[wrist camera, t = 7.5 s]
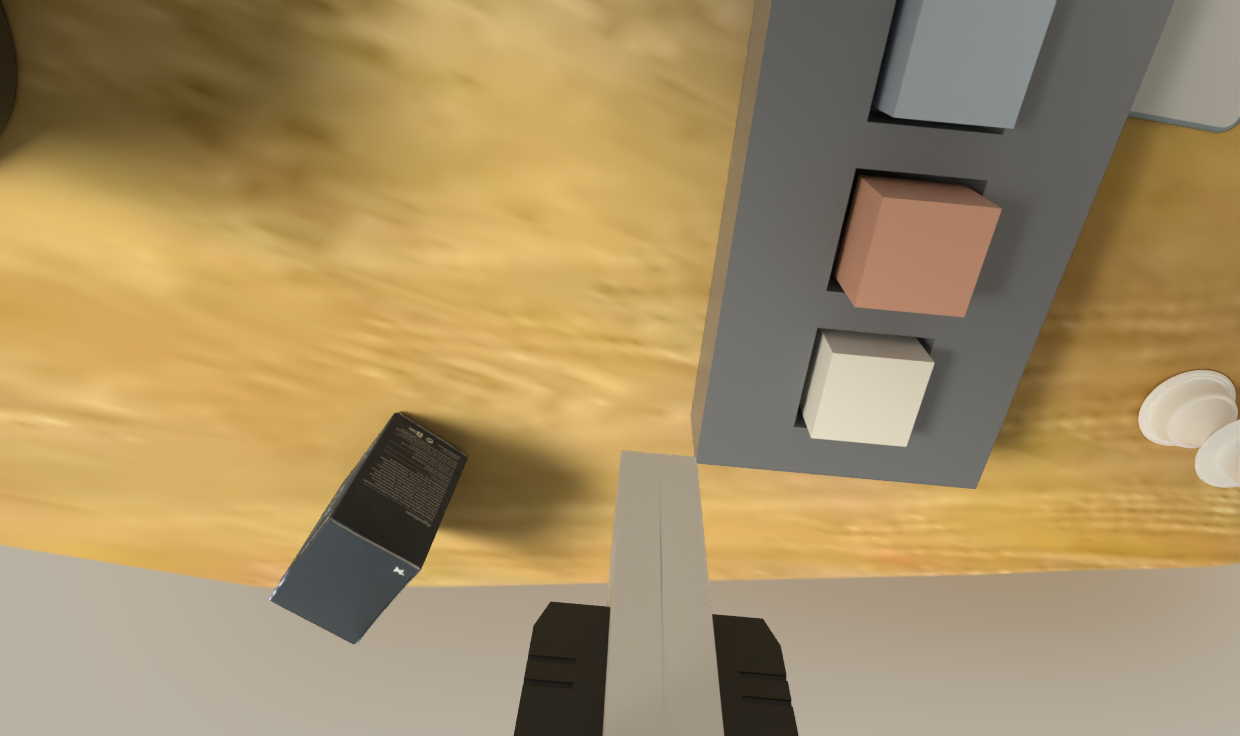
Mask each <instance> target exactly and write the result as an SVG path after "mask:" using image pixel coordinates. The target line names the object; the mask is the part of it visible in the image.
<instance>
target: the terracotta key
mask: <svg viewBox="0 0 1240 736" xmlns="http://www.w3.org/2000/svg"><path fill="white" fill-rule="evenodd" d="M1001 210H1002V208H1000V207H999V206H997V205H996V204H994V203H992V202H991V201H989V200H988V199H986V198H984V197H983V196H981V195H980V194H978V193H977V192H975V191H973V190H972V189H970V188H969V187H967V186H965V185H959V184H948V183H938V182H927V181H917V180H906V179H896V178H885V177H874V176H864V175H858V179H857V183H856V187H855V191H854V196H853V200H852V204H851V208H850V212H849V216H848V220H847V224H846V228H845V233H844V237H843V241H842V245H841V249H840V253H839V257H838V261H837V265H836V270H835V274H834V276H835V278H836V279H837V281H838V282H839V284H840V285H841V287H842V288H843V290H844V292H845V293H846V295H847V296H848V298H849V299H850V301H851V303H852V304H853V306H854V307H859V308H870V309H881V310H891V311H902V312H913V313H923V314H934V315H945V316H956V317H965V314H966V311H967V308H968V305H969V302H970V299H971V296H972V294H973V291H974V288H975V285H976V282H977V279H978V276H979V273H980V271H981V268H982V265H983V262H984V259H985V256H986V253H987V250H988V248H989V245H990V242H991V239H992V236H993V233H994V230H995V227H996V225H997V222H998V219H999V216H1000V213H1001Z"/></svg>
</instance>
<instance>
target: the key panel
mask: <svg viewBox="0 0 1240 736" xmlns="http://www.w3.org/2000/svg"><path fill="white" fill-rule="evenodd" d="M1174 2H1175V0H1057V1H1056V4H1055V7H1054V10H1053V13H1052V16H1051V19H1050V22H1049V25H1048V28H1047V31H1046V34H1045V37H1044V40H1043V43H1042V46H1041V48H1040V51H1039V54H1038V57H1037V60H1036V63H1035V66H1034V69H1033V72H1032V75H1031V78H1030V81H1029V84H1028V87H1027V90H1026V93H1025V96H1024V99H1023V102H1022V105H1021V108H1020V111H1019V114H1018V117H1017V120H1016V123H1015V126H1014V129H1010V128H999V127H989V126H978V125H968V124H957V123H947V122H936V121H926V120H915V119H905V118H894V117H892V116H890V115H888V114H886V113H884V112H882V111H880V110H879V109H877V108H875V107H873V106H871V103H872V99H873V95H874V91H875V87H876V82H877V78H878V74H879V70H880V66H881V62H882V58H883V53H884V49H885V45H886V41H887V37H888V33H889V28H890V24H891V20H892V16H893V12H894V8H895V3H896V0H756V2H755V8H754V15H753V21H752V27H751V34H750V40H749V47H748V53H747V59H746V66H745V72H744V79H743V85H742V91H741V98H740V104H739V111H738V117H737V123H736V130H735V136H734V143H733V149H732V155H731V162H730V168H729V175H728V181H727V187H726V194H725V200H724V207H723V213H722V219H721V226H720V232H719V239H718V245H717V252H716V258H715V264H714V271H713V277H712V284H711V290H710V296H709V303H708V309H707V316H706V322H705V328H704V335H703V341H702V348H701V354H700V360H699V367H698V373H697V380H696V386H695V392H694V399H693V405H692V412H691V424H692V434H693V445H694V456H695V457H696V460H697V463H698V464H709V465H720V466H731V467H742V468H753V469H764V470H774V471H785V472H796V473H807V474H818V475H829V476H840V477H850V478H861V479H872V480H883V481H894V482H905V483H916V484H926V485H937V486H948V487H959V488H970V489H976V487H977V485H978V482H979V480H980V478H981V475H982V473H983V470H984V468H985V465H986V463H987V460H988V458H989V456H990V453H991V451H992V448H993V446H994V443H995V441H996V438H997V436H998V433H999V431H1000V429H1001V426H1002V424H1003V421H1004V419H1005V416H1006V414H1007V411H1008V409H1009V406H1010V404H1011V402H1012V399H1013V397H1014V394H1015V392H1016V389H1017V387H1018V384H1019V382H1020V379H1021V377H1022V375H1023V372H1024V370H1025V367H1026V365H1027V362H1028V360H1029V357H1030V355H1031V352H1032V350H1033V348H1034V345H1035V343H1036V340H1037V338H1038V335H1039V333H1040V330H1041V328H1042V326H1043V323H1044V321H1045V318H1046V316H1047V313H1048V311H1049V308H1050V306H1051V303H1052V301H1053V299H1054V296H1055V294H1056V291H1057V289H1058V286H1059V284H1060V281H1061V279H1062V276H1063V274H1064V272H1065V269H1066V267H1067V264H1068V262H1069V259H1070V257H1071V254H1072V252H1073V249H1074V247H1075V245H1076V242H1077V240H1078V237H1079V235H1080V232H1081V230H1082V227H1083V225H1084V223H1085V220H1086V218H1087V215H1088V213H1089V210H1090V208H1091V205H1092V203H1093V200H1094V198H1095V196H1096V193H1097V191H1098V188H1099V186H1100V183H1101V181H1102V178H1103V176H1104V173H1105V171H1106V169H1107V166H1108V164H1109V161H1110V159H1111V156H1112V154H1113V151H1114V149H1115V146H1116V144H1117V142H1118V139H1119V137H1120V134H1121V132H1122V129H1123V127H1124V124H1125V122H1126V120H1127V117H1128V115H1129V112H1130V110H1131V107H1132V105H1133V102H1134V100H1135V97H1136V95H1137V93H1138V90H1139V88H1140V85H1141V83H1142V80H1143V78H1144V75H1145V73H1146V70H1147V68H1148V66H1149V63H1150V61H1151V58H1152V56H1153V53H1154V51H1155V48H1156V46H1157V43H1158V41H1159V39H1160V36H1161V34H1162V31H1163V29H1164V26H1165V24H1166V21H1167V19H1168V17H1169V14H1170V12H1171V9H1172V7H1173V4H1174ZM858 175H864V176H874V177H885V178H896V179H906V180H917V181H927V182H938V183H948V184H959V185H965V186H967V187H969V188H970V189H972V190H973V191H975V192H977V193H978V194H980V195H981V196H983V197H984V198H986V199H988V200H989V201H991V202H992V203H994V204H996V205H997V206H999V207H1000V208H1002V210H1001V213H1000V216H999V219H998V222H997V225H996V227H995V230H994V233H993V236H992V239H991V242H990V245H989V248H988V250H987V253H986V256H985V259H984V262H983V265H982V268H981V271H980V273H979V276H978V279H977V282H976V285H975V288H974V291H973V294H972V296H971V299H970V302H969V305H968V308H967V311H966V314H965V317H956V316H945V315H934V314H923V313H913V312H902V311H891V310H881V309H870V308H859V307H854V306H853V304H852V303H851V301H850V299H849V298H848V296H847V295H846V293H845V292H844V290H843V288H842V287H841V285H840V284H839V282H838V281H837V279H836V278H835V276H834V274H835V270H836V265H837V261H838V257H839V253H840V249H841V245H842V241H843V237H844V233H845V228H846V224H847V220H848V216H849V212H850V208H851V204H852V200H853V196H854V191H855V187H856V183H857V179H858ZM817 328H825V329H835V330H846V331H857V332H867V333H878V334H889V335H900V336H910V337H916V339H917V340H918V341H919V343H920V344H921V345H922V346H923V348H924V349H925V350H926V352H927V353H928V354H929V356H930V357H931V358H932V360H933V361H934V362H935V363H934V366H933V369H932V372H931V375H930V378H929V381H928V384H927V387H926V390H925V393H924V396H923V399H922V402H921V405H920V408H919V411H918V414H917V417H916V420H915V423H914V426H913V429H912V432H911V435H910V438H909V441H908V443H907V446H906V447H902V446H891V445H880V444H869V443H858V442H848V441H837V440H826V439H815V438H811V437H810V434H809V431H808V428H807V425H806V423H805V420H804V417H803V414H802V411H801V408H800V406H799V403H800V399H801V394H802V390H803V386H804V382H805V378H806V374H807V369H808V365H809V361H810V357H811V353H812V349H813V344H814V340H815V336H816V332H817Z"/></svg>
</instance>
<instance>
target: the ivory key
mask: <svg viewBox="0 0 1240 736" xmlns="http://www.w3.org/2000/svg"><path fill="white" fill-rule="evenodd" d="M934 363H935V362H934V361H933V360H932V358H931V357H930V356H929V354H928V353H927V352H926V350H925V349H924V348H923V346H922V345H921V344H920V343H919V341H918V340H917V339H916V337H910V336H900V335H889V334H878V333H867V332H857V331H846V330H835V329H825V328H817V332H816V336H815V340H814V344H813V349H812V353H811V357H810V361H809V365H808V369H807V374H806V378H805V382H804V386H803V390H802V394H801V399H800V403H799V406H800V408H801V411H802V414H803V417H804V420H805V423H806V425H807V428H808V431H809V434H810V437H811V438H815V439H826V440H837V441H848V442H858V443H869V444H880V445H891V446H902V447H906V446H907V443H908V441H909V438H910V435H911V432H912V429H913V426H914V423H915V420H916V417H917V414H918V411H919V408H920V405H921V402H922V399H923V396H924V393H925V390H926V387H927V384H928V381H929V378H930V375H931V372H932V369H933V366H934Z"/></svg>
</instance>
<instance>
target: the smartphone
mask: <svg viewBox="0 0 1240 736" xmlns="http://www.w3.org/2000/svg"><path fill="white" fill-rule="evenodd" d="M1128 117H1134V118H1139V119H1144V120H1150V121H1155V122H1161V123H1166V124H1172V125H1177V126H1183V127H1188V128H1194V129H1199V130H1204V131H1210V132H1224V131H1227V130H1229V129H1231V128H1233V127H1234V126H1236V125H1237V124H1238V123H1239V122H1240V0H1175V2H1174V4H1173V7H1172V9H1171V12H1170V14H1169V17H1168V19H1167V21H1166V24H1165V26H1164V29H1163V31H1162V34H1161V36H1160V39H1159V41H1158V43H1157V46H1156V48H1155V51H1154V53H1153V56H1152V58H1151V61H1150V63H1149V66H1148V68H1147V70H1146V73H1145V75H1144V78H1143V80H1142V83H1141V85H1140V88H1139V90H1138V93H1137V95H1136V97H1135V100H1134V102H1133V105H1132V107H1131V110H1130V112H1129V115H1128Z"/></svg>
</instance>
